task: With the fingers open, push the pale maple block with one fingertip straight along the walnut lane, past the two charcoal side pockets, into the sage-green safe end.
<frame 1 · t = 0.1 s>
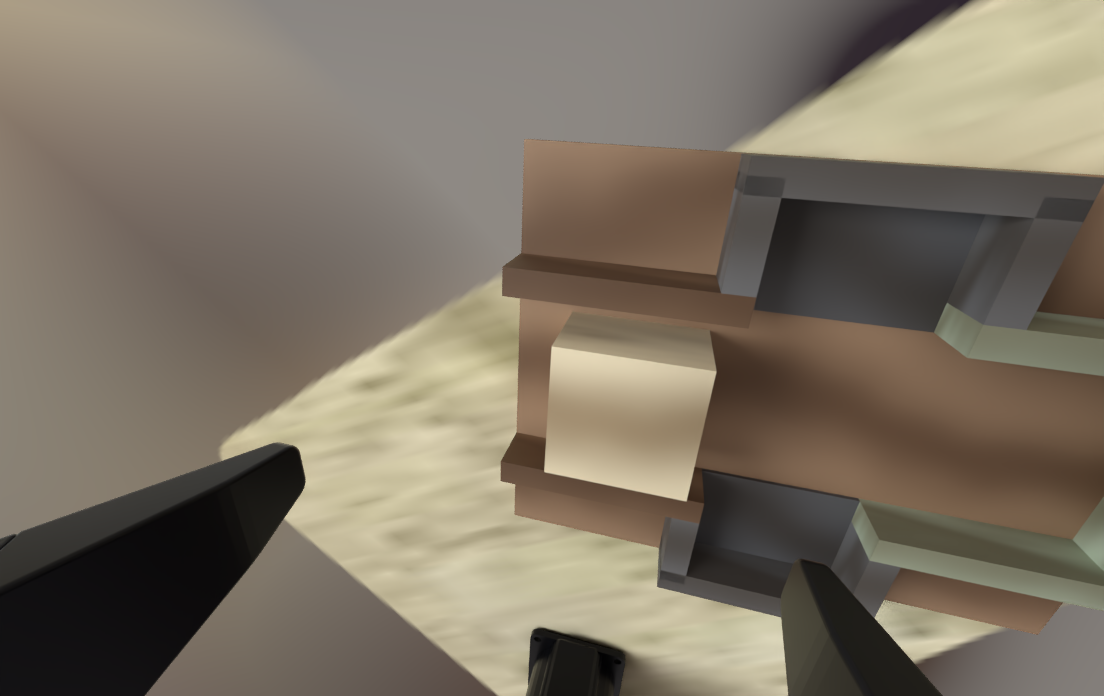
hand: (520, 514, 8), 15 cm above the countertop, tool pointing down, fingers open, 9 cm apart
maple block: (630, 379, 22), point 1 cm above the countertop, touching trap lane
trap lane: (797, 396, 21), on the countertop
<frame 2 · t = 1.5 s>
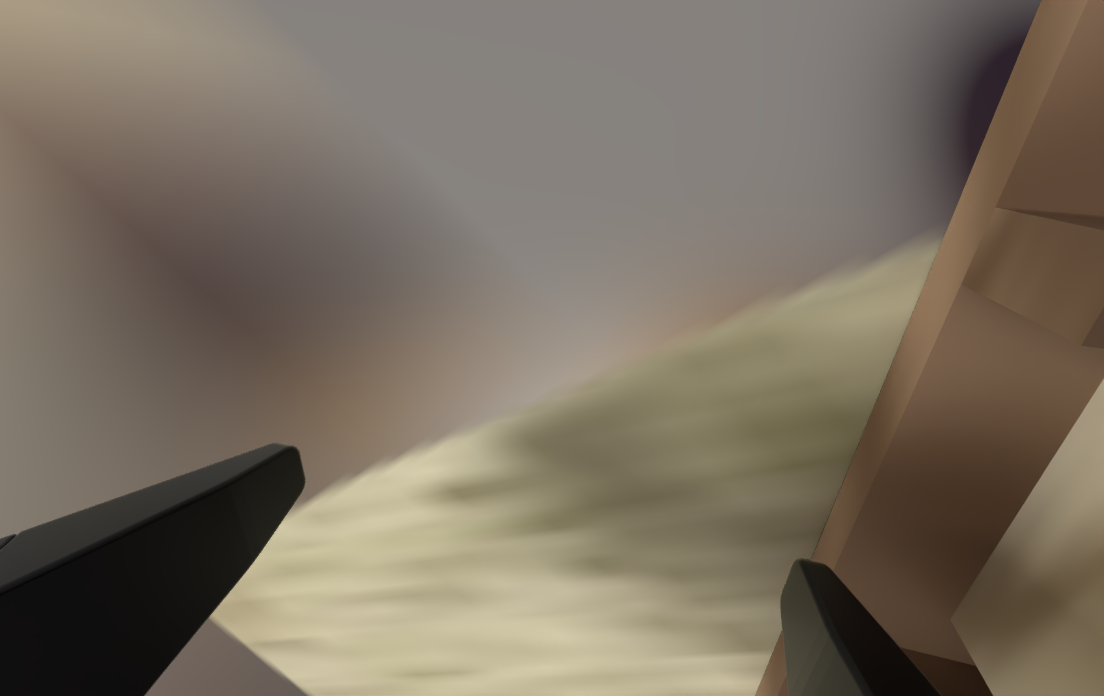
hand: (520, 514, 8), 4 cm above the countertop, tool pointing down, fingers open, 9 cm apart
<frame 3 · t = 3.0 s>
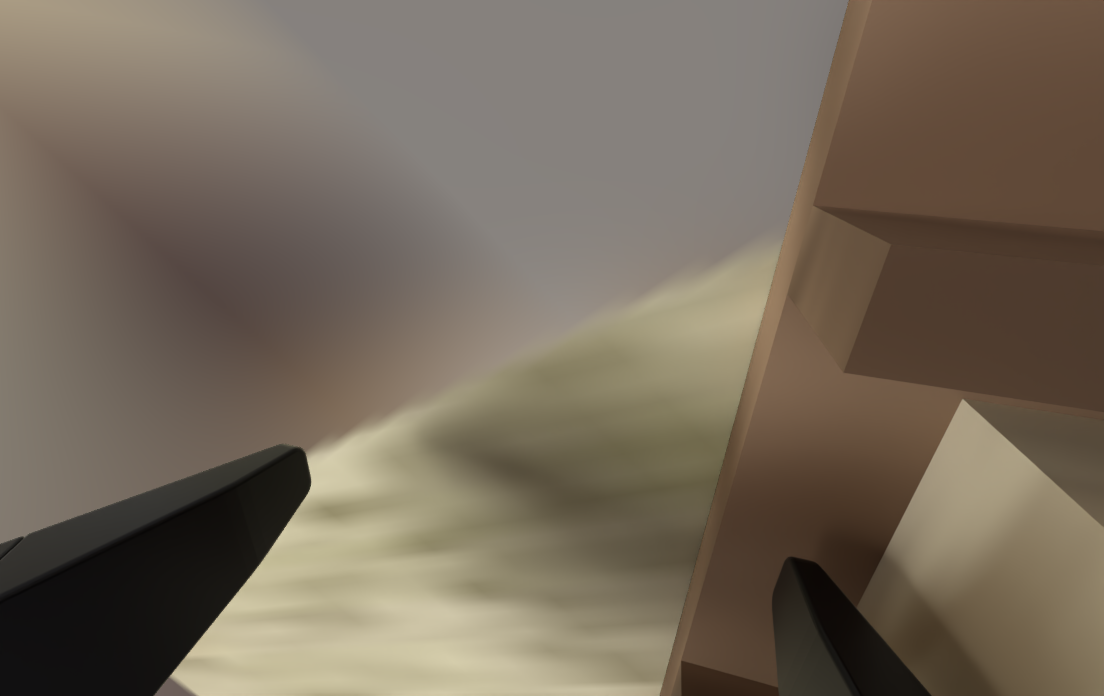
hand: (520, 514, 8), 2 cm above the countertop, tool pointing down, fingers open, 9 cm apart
maple block: (1098, 596, 7), point 1 cm above the countertop, touching gripper
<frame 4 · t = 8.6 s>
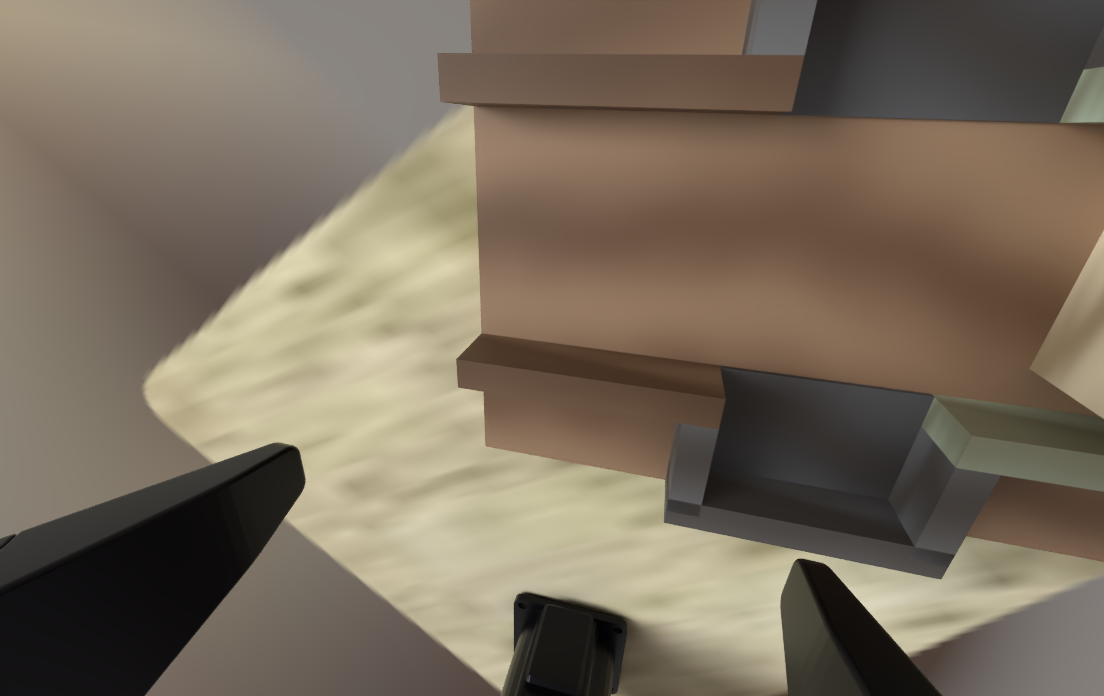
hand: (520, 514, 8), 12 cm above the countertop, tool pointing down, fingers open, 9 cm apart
trap lane: (848, 257, 16), on the countertop
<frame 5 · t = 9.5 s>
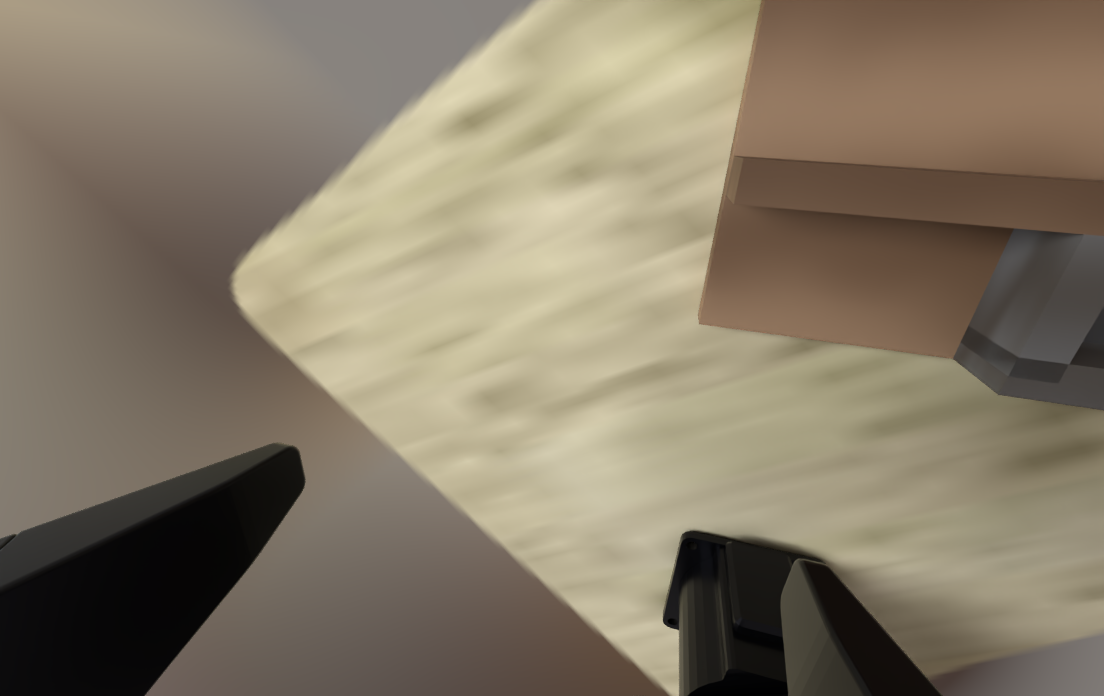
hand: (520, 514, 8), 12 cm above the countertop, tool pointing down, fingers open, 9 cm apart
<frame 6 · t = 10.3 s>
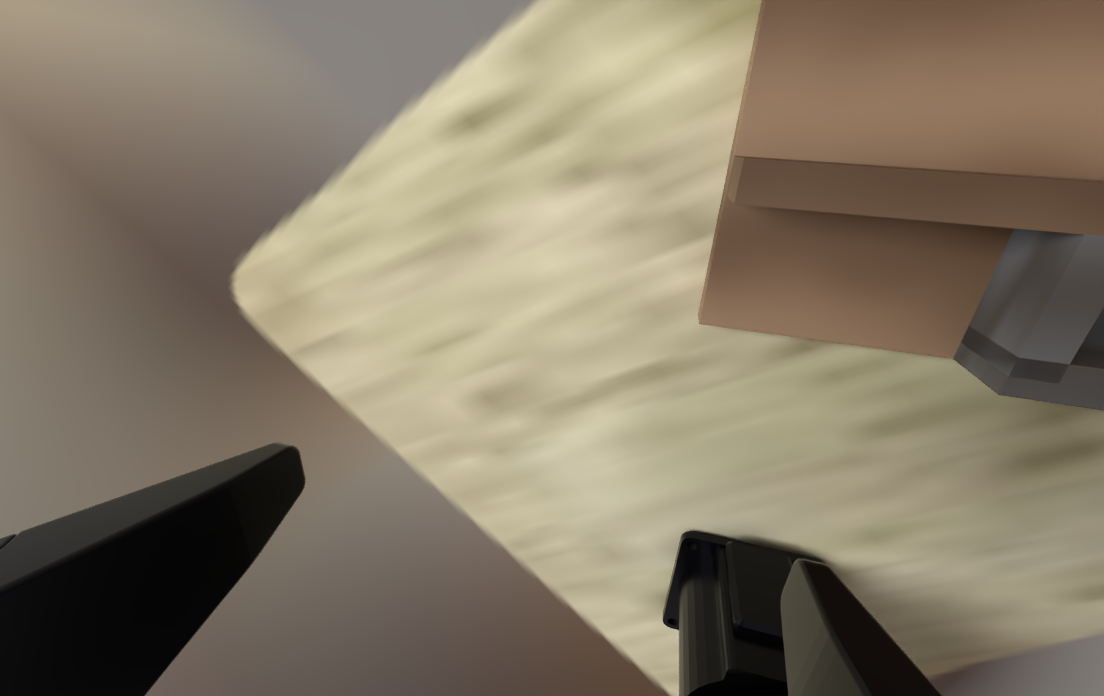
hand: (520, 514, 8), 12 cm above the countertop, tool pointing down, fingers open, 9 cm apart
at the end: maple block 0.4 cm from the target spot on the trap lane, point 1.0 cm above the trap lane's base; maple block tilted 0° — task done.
